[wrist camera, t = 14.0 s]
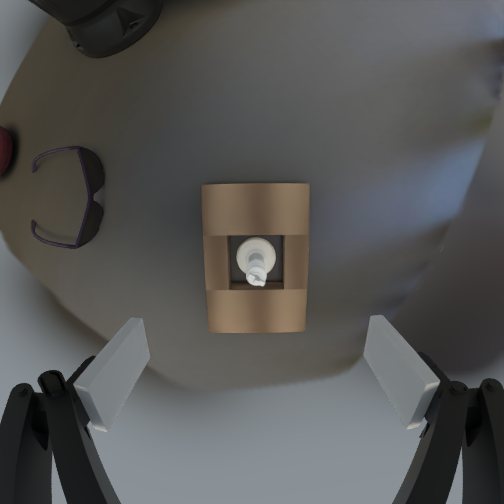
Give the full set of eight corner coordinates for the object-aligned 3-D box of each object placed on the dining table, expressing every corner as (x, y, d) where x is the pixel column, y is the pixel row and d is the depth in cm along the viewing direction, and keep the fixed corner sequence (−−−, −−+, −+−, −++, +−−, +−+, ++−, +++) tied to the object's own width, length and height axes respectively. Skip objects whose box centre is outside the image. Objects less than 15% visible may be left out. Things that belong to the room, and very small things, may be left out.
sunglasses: (107, 244, 35) (88, 252, 30) (34, 239, 35) (15, 245, 30) (109, 146, 32) (90, 142, 27) (35, 157, 32) (15, 155, 27)
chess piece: (249, 229, 34) (247, 245, 24) (283, 250, 34) (294, 274, 25) (229, 262, 35) (218, 290, 25) (262, 282, 35) (264, 316, 26)
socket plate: (212, 321, 37) (209, 332, 34) (205, 185, 33) (201, 184, 30) (301, 320, 36) (304, 331, 34) (304, 184, 33) (309, 183, 30)
